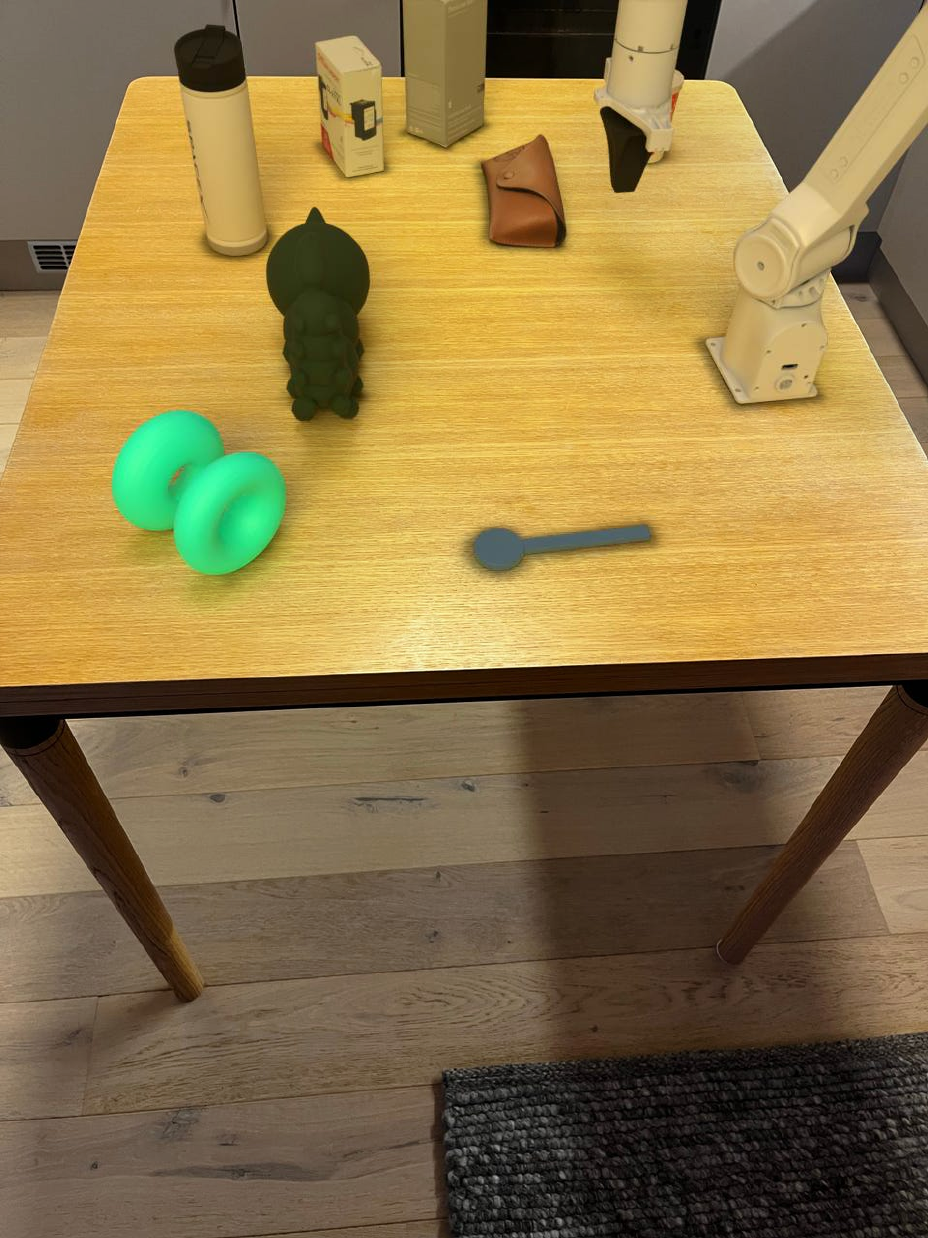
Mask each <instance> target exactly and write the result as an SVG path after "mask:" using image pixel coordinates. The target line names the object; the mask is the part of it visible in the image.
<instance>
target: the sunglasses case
mask: <svg viewBox="0 0 928 1238" xmlns="http://www.w3.org/2000/svg"><path fill="white" fill-rule="evenodd" d="M554 163H555V162H554V158H553V155H552V152H551V149H550V146H549V142H548V140H547V138H546V137H545V136H544V135H543V134H540V133H539V134H538V135H537V136H535V138H534V139H533V140H532V141H531V140H530V141H529V142H527V143H524V144H522V145H520V146H517V147H515V148H513V149H509V150H508V151H505V152H503V153H500V154H497V155H495V156H493V157H491V158H489V159H487V160H482V161H481V162H480V166H481V169H482V171H483V174H484V177H485V183H486V188H487V198H488V199H487V200H488V207H489V208H488V209H489V231H488V232H489V233H488V239H489V241H491V242H493V243H495V244H499V245H504V246H509V247H518V248H519V247H520V248H539V249H554V248H556V247H558V246H560V245H561V244H562V243H563V242H564V241H565V240H566V237H567V231H568V230H567V224H566V219H565V211H564V205H563V200H562V195H561V191H560V186H559V181H558V177H557V171H556V165H555V164H554Z"/></svg>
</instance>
